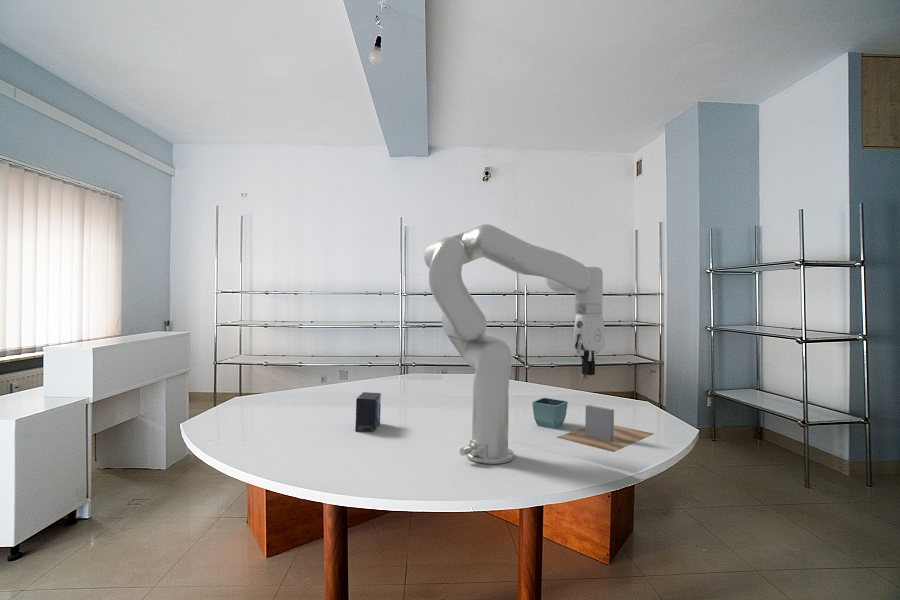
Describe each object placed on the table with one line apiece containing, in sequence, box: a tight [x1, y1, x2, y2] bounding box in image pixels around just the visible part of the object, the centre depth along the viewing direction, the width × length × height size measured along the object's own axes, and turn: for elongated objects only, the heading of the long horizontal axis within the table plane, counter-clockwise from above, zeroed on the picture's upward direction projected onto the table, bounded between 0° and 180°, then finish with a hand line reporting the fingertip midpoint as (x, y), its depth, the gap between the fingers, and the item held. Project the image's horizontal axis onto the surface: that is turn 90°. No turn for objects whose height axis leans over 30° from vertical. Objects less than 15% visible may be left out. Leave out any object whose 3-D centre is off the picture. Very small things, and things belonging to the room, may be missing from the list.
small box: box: [354, 391, 382, 433], centre depth 151 cm, size 11×6×10 cm, turn 179°
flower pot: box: [532, 397, 569, 429], centre depth 152 cm, size 9×9×9 cm
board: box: [556, 424, 654, 453], centre depth 141 cm, size 26×18×1 cm
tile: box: [585, 404, 615, 442], centre depth 138 cm, size 2×8×9 cm, turn 44°
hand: (588, 374), depth 133 cm, fingers closed
